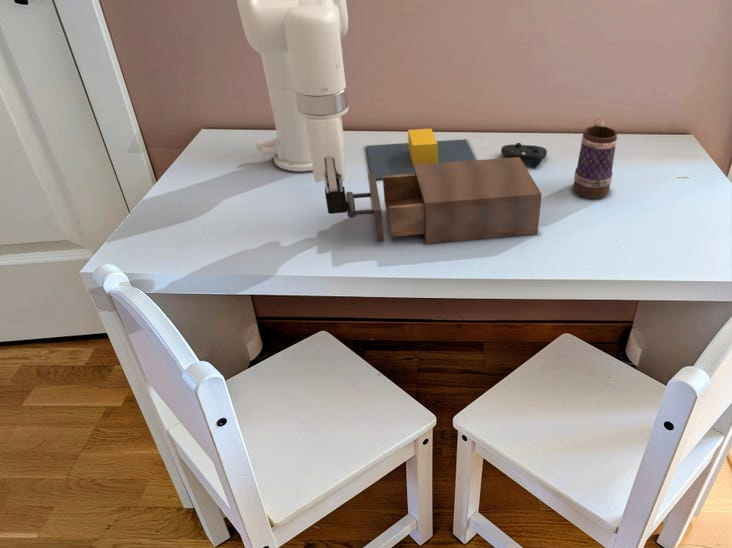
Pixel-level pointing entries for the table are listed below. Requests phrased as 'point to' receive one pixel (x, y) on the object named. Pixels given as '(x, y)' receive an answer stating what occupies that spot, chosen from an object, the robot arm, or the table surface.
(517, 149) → the game controller
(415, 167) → the cabinet
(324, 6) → the robot arm
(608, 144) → the brown purple cylinder
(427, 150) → the sponge
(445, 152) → the mat
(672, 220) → the table surface
